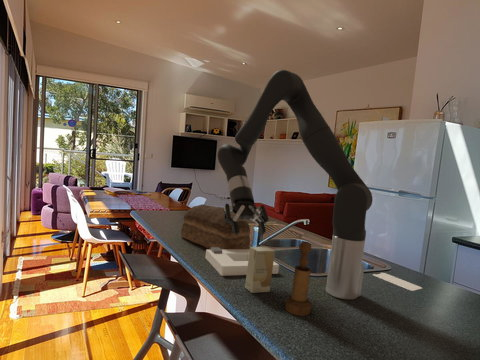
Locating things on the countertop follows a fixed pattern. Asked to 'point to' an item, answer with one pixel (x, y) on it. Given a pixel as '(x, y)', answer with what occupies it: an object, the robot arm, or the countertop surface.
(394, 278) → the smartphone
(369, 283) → the countertop surface
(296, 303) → the brown wooden tall piece
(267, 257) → the skincare box
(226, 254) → the socket plate
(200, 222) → the bread
